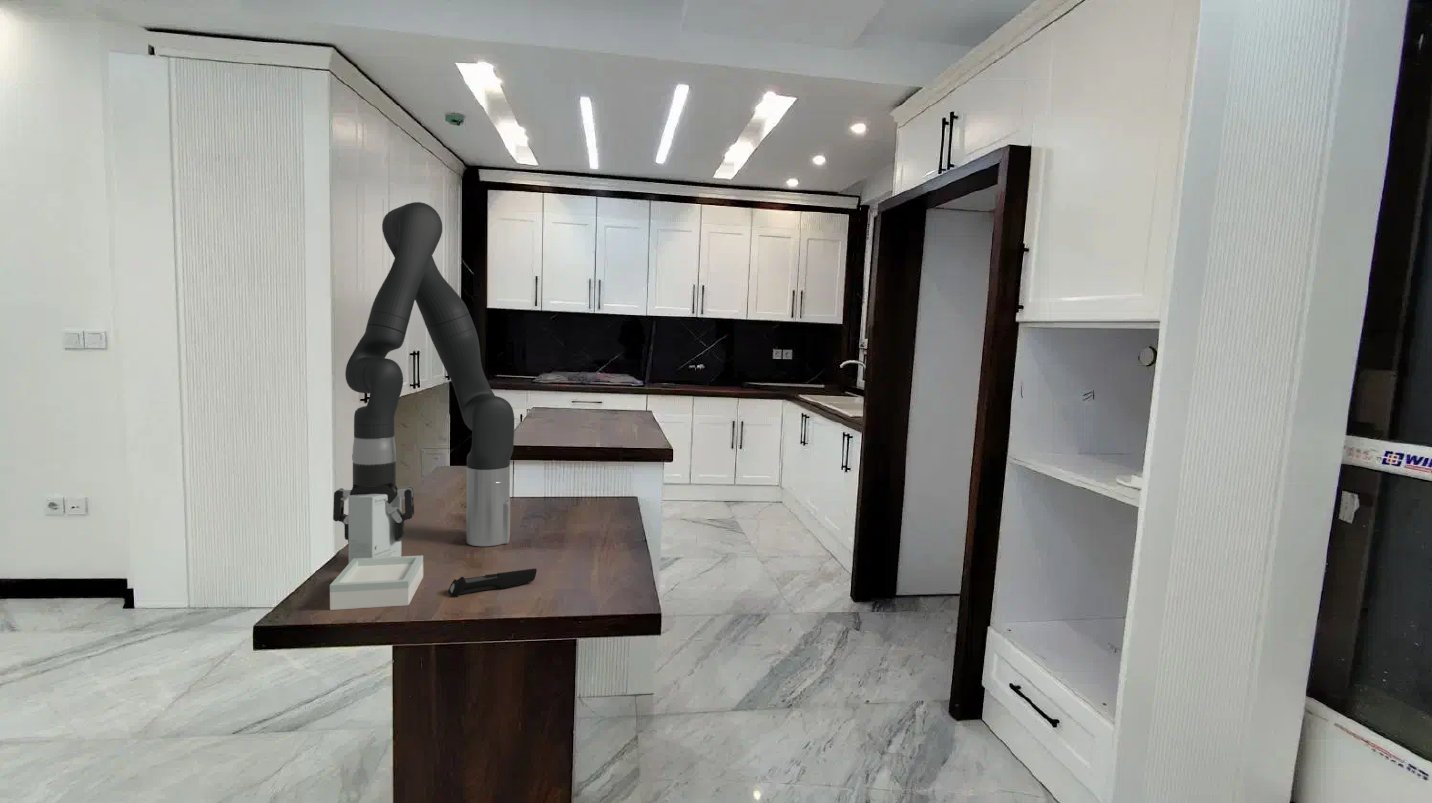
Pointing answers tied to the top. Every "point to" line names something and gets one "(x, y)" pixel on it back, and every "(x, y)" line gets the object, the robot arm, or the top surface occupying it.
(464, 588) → the electric trimmer
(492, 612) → the top surface
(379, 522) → the skincare box
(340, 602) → the white open tray
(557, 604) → the top surface
